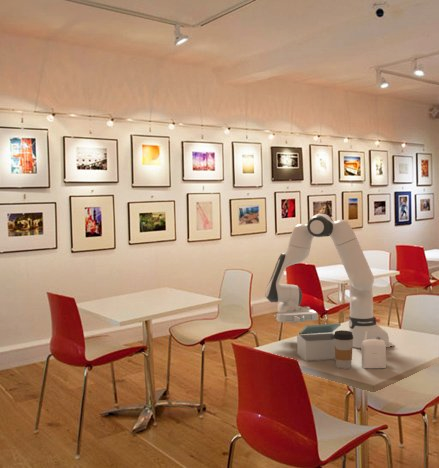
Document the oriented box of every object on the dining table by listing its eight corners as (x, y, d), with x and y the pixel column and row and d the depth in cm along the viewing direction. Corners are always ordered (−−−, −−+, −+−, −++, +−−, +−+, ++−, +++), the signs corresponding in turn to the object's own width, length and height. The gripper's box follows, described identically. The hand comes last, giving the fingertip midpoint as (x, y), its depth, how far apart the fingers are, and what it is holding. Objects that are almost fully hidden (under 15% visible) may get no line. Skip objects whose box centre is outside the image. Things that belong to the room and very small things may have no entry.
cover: (332, 332, 253) (331, 330, 254) (341, 325, 242) (340, 323, 243) (299, 334, 251) (298, 332, 251) (306, 327, 239) (306, 325, 240)
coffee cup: (353, 370, 227) (353, 335, 226) (333, 369, 228) (333, 334, 227) (353, 364, 235) (352, 330, 234) (333, 363, 236) (333, 329, 235)
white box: (333, 351, 254) (333, 332, 254) (343, 358, 242) (343, 339, 242) (297, 353, 251) (297, 335, 251) (305, 361, 239) (305, 341, 239)
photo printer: (362, 369, 228) (362, 340, 227) (360, 365, 232) (360, 337, 231) (387, 369, 227) (387, 340, 226) (384, 365, 231) (384, 337, 230)
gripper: (272, 308, 266) (280, 314, 253) (311, 306, 270) (321, 312, 256) (272, 321, 267) (281, 327, 253) (311, 318, 270) (321, 325, 257)
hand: (301, 319), depth 255 cm, fingers closed
